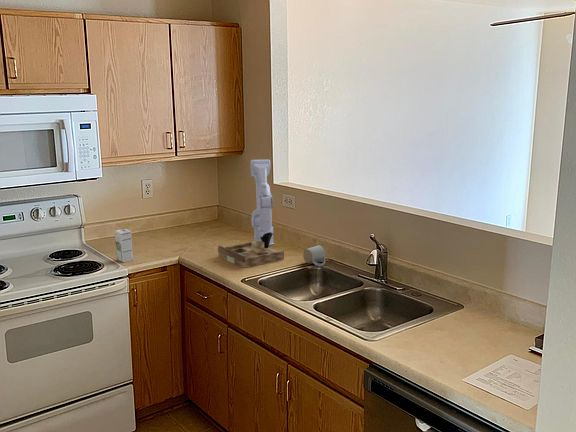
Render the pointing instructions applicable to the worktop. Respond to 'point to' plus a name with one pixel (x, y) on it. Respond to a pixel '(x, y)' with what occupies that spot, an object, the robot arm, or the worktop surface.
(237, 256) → the trap box
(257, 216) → the robot arm
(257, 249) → the maple block
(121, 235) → the syrup box
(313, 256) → the ceramic mug
